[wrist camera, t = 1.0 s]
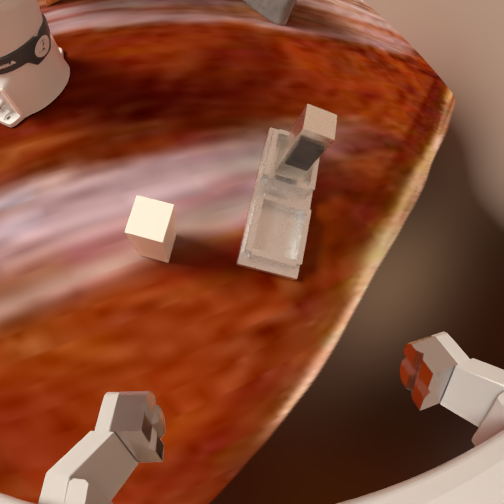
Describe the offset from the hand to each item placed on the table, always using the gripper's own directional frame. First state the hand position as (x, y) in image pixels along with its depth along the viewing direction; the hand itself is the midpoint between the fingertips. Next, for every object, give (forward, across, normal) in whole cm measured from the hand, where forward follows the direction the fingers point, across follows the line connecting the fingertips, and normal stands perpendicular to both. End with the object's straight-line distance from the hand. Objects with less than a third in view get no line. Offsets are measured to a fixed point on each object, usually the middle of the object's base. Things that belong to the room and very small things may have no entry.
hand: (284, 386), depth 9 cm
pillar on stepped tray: (+39, -7, +6) cm, 40 cm away
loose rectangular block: (+33, +11, +7) cm, 36 cm away
